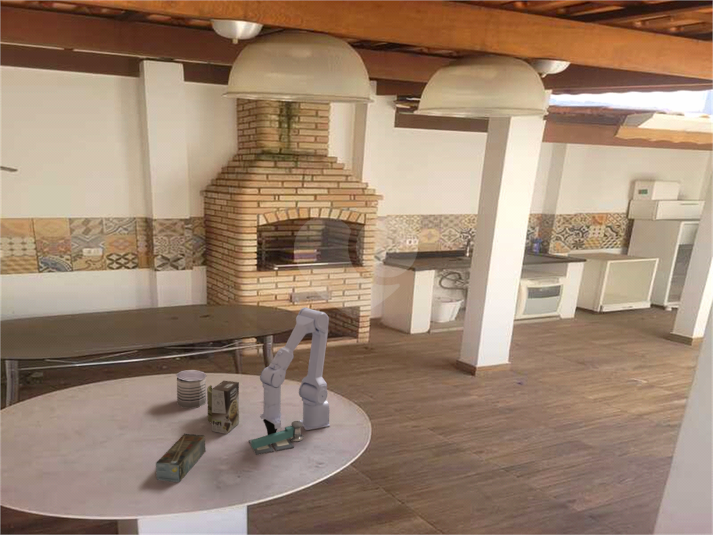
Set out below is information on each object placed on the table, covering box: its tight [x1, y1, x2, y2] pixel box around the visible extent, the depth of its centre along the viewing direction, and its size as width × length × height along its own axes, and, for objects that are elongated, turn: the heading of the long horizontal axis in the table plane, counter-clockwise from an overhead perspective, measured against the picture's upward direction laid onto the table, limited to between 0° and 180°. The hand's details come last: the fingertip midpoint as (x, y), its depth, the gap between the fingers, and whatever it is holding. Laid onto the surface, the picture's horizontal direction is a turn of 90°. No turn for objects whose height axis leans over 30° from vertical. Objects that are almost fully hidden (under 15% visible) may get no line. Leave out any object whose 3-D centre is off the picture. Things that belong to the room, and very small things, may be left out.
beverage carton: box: [155, 433, 207, 483], centre depth 176 cm, size 8×19×7 cm, turn 171°
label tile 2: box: [272, 438, 295, 452], centre depth 192 cm, size 6×10×1 cm, turn 25°
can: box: [175, 369, 208, 409], centre depth 220 cm, size 11×11×12 cm
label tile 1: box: [248, 438, 275, 456], centre depth 189 cm, size 6×10×1 cm, turn 25°
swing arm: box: [250, 420, 303, 450], centre depth 190 cm, size 19×4×4 cm, turn 127°
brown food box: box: [206, 384, 213, 424], centre depth 208 cm, size 11×12×11 cm
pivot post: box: [288, 427, 305, 443], centre depth 195 cm, size 5×5×4 cm
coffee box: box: [211, 380, 240, 435], centre depth 200 cm, size 9×6×16 cm
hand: (271, 439), depth 191 cm, fingers closed, pressing on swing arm
